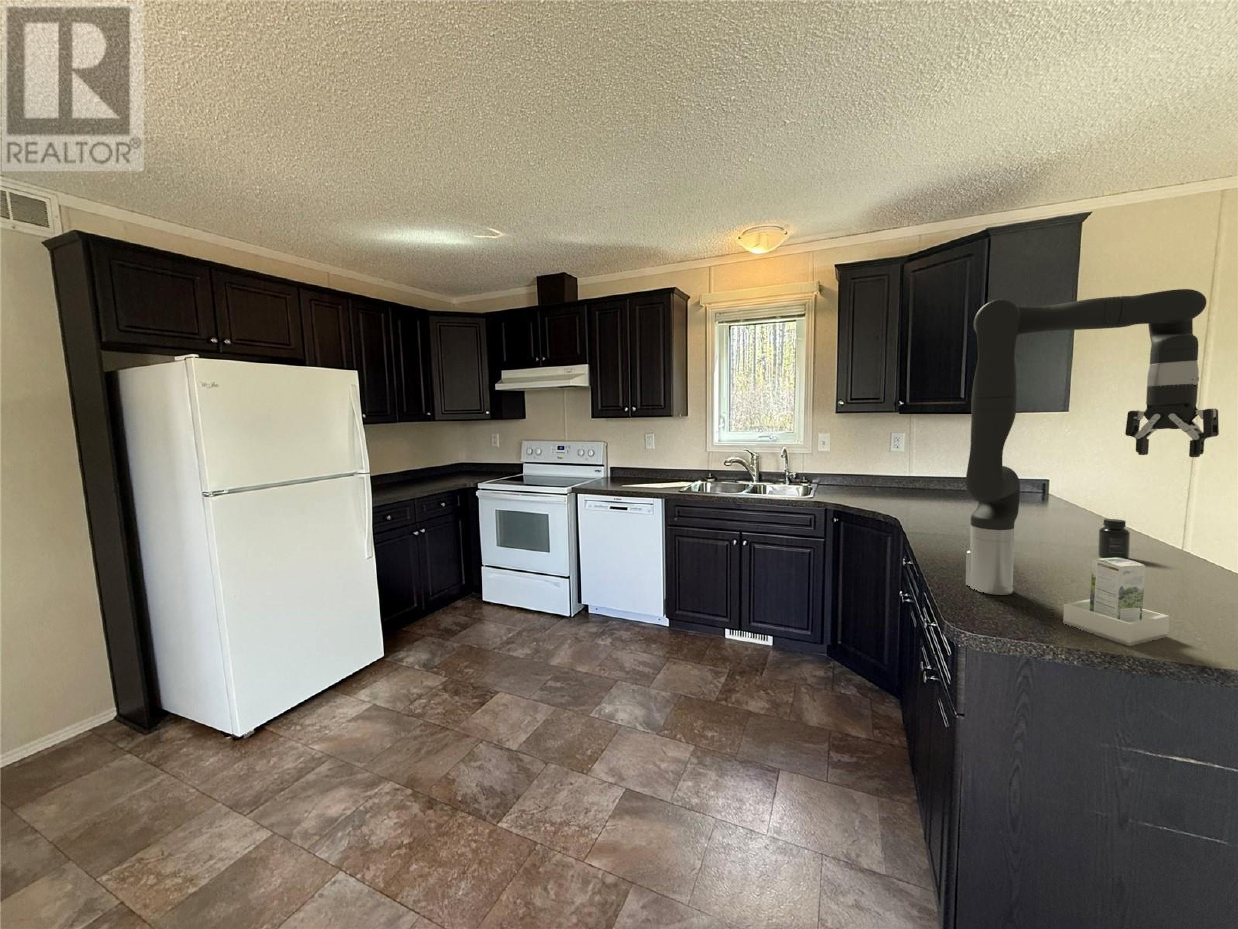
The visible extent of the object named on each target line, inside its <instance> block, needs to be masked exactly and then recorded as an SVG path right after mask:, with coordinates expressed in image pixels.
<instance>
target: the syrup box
mask: <svg viewBox="0 0 1238 929" xmlns="http://www.w3.org/2000/svg"><path fill="white" fill-rule="evenodd" d="M1146 566H1147V565H1145V564H1143V563H1140V562H1137V561H1135V560H1131V559H1123V558H1094V559H1093V558H1092V566H1091V567H1092V568H1091V580H1090V598H1089V599H1090V610H1089V611H1092V612H1095V613H1099V614H1102V615H1105V616H1109V617H1112V618H1115V619H1119V620H1122V621H1125V622H1133V621H1137V620H1142V609H1144V608H1143V607H1144V606H1143V605H1144V596H1145V595H1144V593H1145V579H1146V577H1145V576H1146V568H1147V567H1146Z"/></svg>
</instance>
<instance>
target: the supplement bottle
mask: <svg viewBox="0 0 1238 929" xmlns="http://www.w3.org/2000/svg"><path fill="white" fill-rule="evenodd" d="M1126 522H1127V521H1126V520H1124V519H1119V518H1117V519H1115V518H1104V519H1103V523H1102V524H1103V527H1100V529H1099V530H1098V546H1097V547H1098V551H1097V552H1098V557H1099V558H1101V559H1103V558H1123V559H1128V560H1130V548H1131V547H1130V543H1131V541H1130V540H1131V539H1130V538H1131V533H1130V531H1129V530H1128V529H1126V528H1125V527H1126V526H1127V524H1126Z"/></svg>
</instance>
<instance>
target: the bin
mask: <svg viewBox="0 0 1238 929" xmlns="http://www.w3.org/2000/svg"><path fill="white" fill-rule="evenodd" d="M1089 610H1090V598H1088V599H1084V600H1079V601H1075V602H1074V601H1073V602H1070V603H1064V604H1063V621H1062V622H1063V623H1064V624H1063V625H1065V624H1067V625H1066V626H1068V625H1069V626H1068V627H1071V626H1074V627H1076V628H1075V629H1077V628H1078V630H1080V629H1081V630H1080V631H1083V630H1085V631H1084V632H1086V631H1087V633H1089V634H1092V633H1094V634H1093V635H1096V636H1098V637H1102V638H1104V639H1107V640H1109V641H1113V642H1116V643H1119V644H1122V645H1126V646H1128V647H1133V646H1136V645H1140V644H1146V643H1148V642H1149V641H1150V642H1153V641H1152V640H1154V641H1157V640H1161V638H1162V639H1165V637H1166V638H1168V637H1169V624H1170V623H1169V622H1170V615H1167V614H1164V613H1159V612H1156V611H1153V610H1149V609H1145V608H1142V620H1137V621H1133V622H1125V621H1122V620H1119V619H1115V618H1112V617H1109V616H1105V615H1102V614H1099V613H1095V612H1092V611H1089ZM1074 627H1073V628H1074Z"/></svg>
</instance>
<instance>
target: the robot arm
mask: <svg viewBox="0 0 1238 929" xmlns="http://www.w3.org/2000/svg"><path fill="white" fill-rule="evenodd" d="M1207 302H1208V301H1207V298H1206V296H1205V295H1204V293H1202V292H1200V291H1198V290H1195V289H1192V288H1191V289H1190V288H1179V289H1168V290H1162V291H1156V292H1151V293H1150V292H1148V293H1144V294H1138V295H1120V296H1119V295H1118V296H1109V297H1108V296H1107V297H1096V298H1090V299H1089V298H1087V299H1082V300H1076V301H1075V300H1074V301H1070V302H1063V303H1059V304H1051V305H1042V306H1018V305H1017V304H1015V303H1014V302H1013V301H1011V300H1009V299H1002V298H1001V299H1000V298H999V299H994V300H991V301H989V302H987V303H986V304H984V305H983V306H982V307H981V308H980V309H979V310H978V311H977V313H976V314H975V317H974V320H973V329H974V330H973V331H974V332H975V333H976V341H977V363H976V367H975V374H974V378H973V382H972V383H973V384H972V392H971V408H970V410H971V411H970V412H971V414H970V415H971V416H970V417H971V420H970V421H971V422H970V447H969V456H968V463H967V470H966V476H965V488H966V491H967V493H968V495H969V496H970V498H972V499H973V500H974V501H975V502H978V504H977V507H976V509H975V511H973V513H972V514H971V516H970V538H969V540H970V541H969V544H970V545H969V546H970V547H969V550H968V551H966V554H965V555H966V557H965V558H966V560H965V586H967V585H968V586H967V587H969V586H970V587H969V588H971V589H972V590H974V589H975V590H974V591H976V590H977V591H976V592H980V593H983V592H984V594H989V595H999V596H1000V595H1001V596H1003V595H1004V596H1006V595H1010V594H1013V586H1014V585H1013V584H1014V583H1013V582H1014V557H1015V556H1014V553H1015V552H1014V551H1015V549H1014V548H1015V546H1014V545H1015V522H1016V520H1017V518H1018V515H1019V508H1020V497H1021V483H1020V482H1021V481H1020V479H1019V477H1018V474H1017V472H1015V470H1013V469H1012V468H1010V467H1009V466H1005V465H1003V453H1004V447H1005V445H1006V444H1005V443H1006V441H1007V439H1008V436H1009V435H1010V431H1011V430H1012V427H1013V424H1014V423H1015V418H1016V414H1017V397H1018V395H1017V391H1018V390H1017V371H1016V362H1015V360H1016V359H1015V350H1016V344H1017V336H1018V335H1025V334H1032V333H1033V334H1034V333H1041V332H1043V333H1044V332H1054V331H1057V332H1058V331H1079V330H1080V331H1081V330H1103V329H1114V328H1115V329H1116V328H1127V327H1131V326H1136V325H1146V324H1147V325H1148V333H1149V338H1150V344H1151V345H1150V346H1151V347H1150V353H1149V355H1150V357H1149V368H1148V371H1147V380H1146V402H1145V405H1146V409H1145V411H1143V410H1142V411H1141V410H1130V411H1128V412H1127V418H1126V424H1125V425H1126V426H1125V432H1124V434H1125V436H1127V437H1132V438H1134V439H1135V452H1136V453H1137V454H1138V455H1139V456H1145V455H1146V456H1147V455H1148V454H1149V444H1150V439H1149V437H1150V436H1151V435H1152V434H1153V433H1154V432H1156V431H1157V430H1167V429H1169V430H1181V431H1183V432H1184V433H1186V434H1187V435H1188V437H1190V438H1191V439H1189V449H1188V450H1189V451H1188V452H1189V453H1188V457H1189V458H1199V457H1200V456H1202V455H1203V454H1204V451H1205V450H1204V449H1205V441H1206V440H1207V439H1210V438H1213V437H1218V436H1219V435H1220V433H1219V432H1220V431H1219V430H1220V429H1219V427H1220V426H1219V410H1218V409H1217V408H1205V409H1199V408H1198V407H1197V403H1198V392H1199V391H1198V390H1199V389H1198V388H1199V381H1200V376H1199V374H1200V372H1199V365H1198V360H1199V339H1198V337H1197V336H1196V335H1194V330H1193V329H1194V328H1193V327H1194V326H1193V324H1194V323H1193V319H1195V318H1196V317H1198V316H1199V315H1201V314H1202V313H1203V311H1204V310H1205V308H1206V306H1207ZM1197 416H1199V418H1200V419H1201V420H1202V424H1203V425H1202V429H1203V430H1202V429H1201V428H1200V426H1199V425H1198V424H1197V423H1196V422H1195V421H1194V420H1195V419H1196V418H1197ZM1144 418H1145V419H1146V420H1147V422H1145V424H1144V425H1142V427H1141V429H1140V425H1141V420H1143V419H1144Z"/></svg>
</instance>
